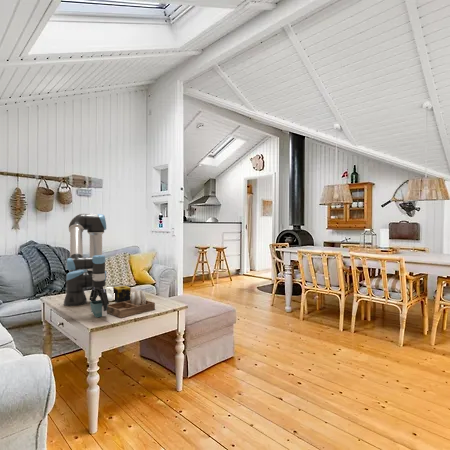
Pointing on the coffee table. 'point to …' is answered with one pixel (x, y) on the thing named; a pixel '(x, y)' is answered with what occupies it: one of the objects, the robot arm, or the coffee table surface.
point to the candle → (122, 293)
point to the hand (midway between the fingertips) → (98, 313)
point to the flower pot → (96, 308)
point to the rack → (131, 305)
